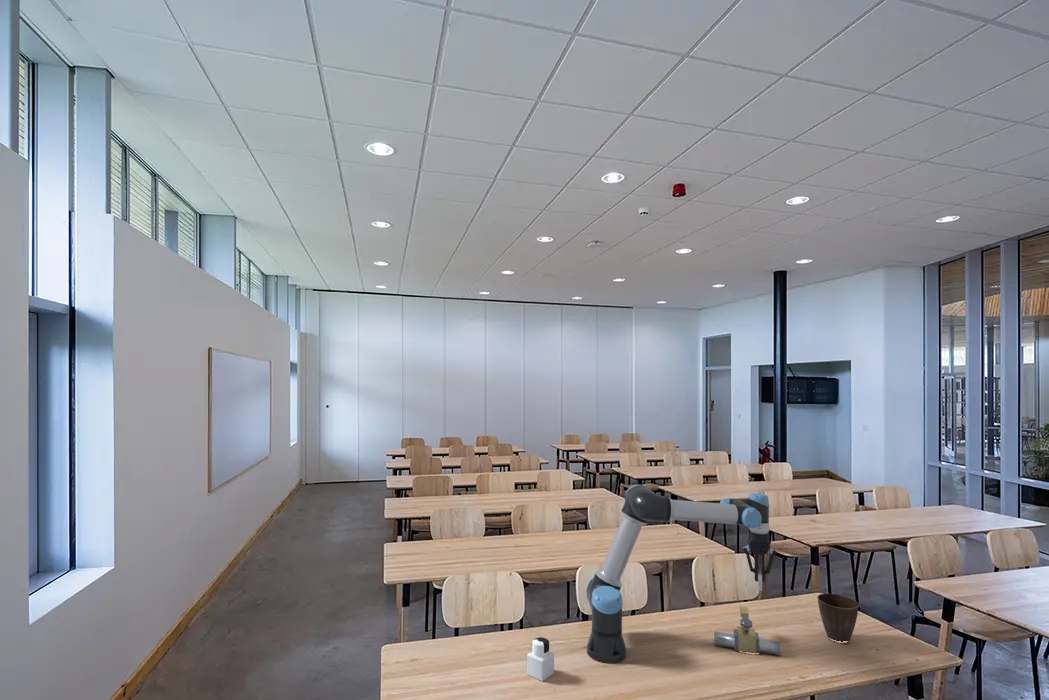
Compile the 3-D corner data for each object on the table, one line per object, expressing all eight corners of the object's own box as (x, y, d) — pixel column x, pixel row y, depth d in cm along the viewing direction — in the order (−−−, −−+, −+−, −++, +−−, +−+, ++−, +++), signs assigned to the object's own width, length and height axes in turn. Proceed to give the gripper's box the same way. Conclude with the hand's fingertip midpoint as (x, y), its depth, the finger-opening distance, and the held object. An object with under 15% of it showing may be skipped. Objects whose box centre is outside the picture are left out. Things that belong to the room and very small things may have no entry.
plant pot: (859, 652, 215) (858, 611, 216) (816, 642, 223) (816, 602, 224) (859, 637, 228) (858, 598, 229) (818, 628, 236) (818, 590, 236)
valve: (714, 648, 216) (714, 624, 217) (714, 640, 223) (714, 617, 223) (780, 659, 209) (780, 634, 209) (778, 650, 215) (778, 627, 216)
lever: (752, 628, 213) (752, 624, 214) (740, 626, 215) (740, 622, 215) (749, 611, 229) (749, 607, 229) (737, 609, 231) (737, 606, 231)
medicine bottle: (538, 666, 200) (539, 633, 201) (554, 673, 196) (554, 639, 196) (526, 674, 195) (527, 640, 195) (542, 682, 190) (542, 646, 191)
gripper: (743, 532, 225) (743, 590, 224) (777, 535, 221) (778, 595, 220) (741, 527, 232) (742, 584, 231) (775, 530, 228) (775, 588, 227)
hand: (759, 589), depth 225 cm, fingers closed
